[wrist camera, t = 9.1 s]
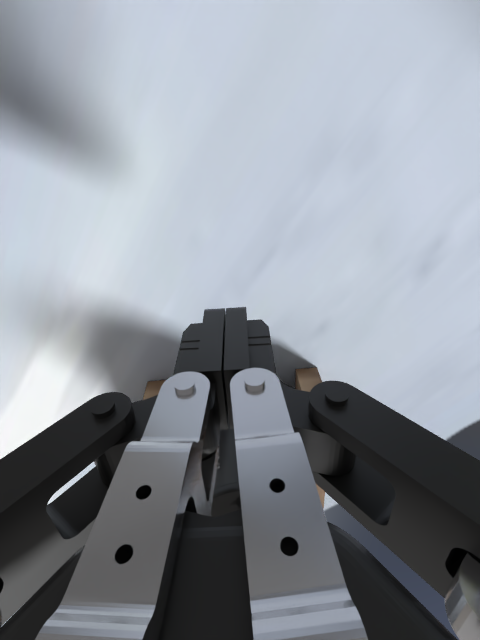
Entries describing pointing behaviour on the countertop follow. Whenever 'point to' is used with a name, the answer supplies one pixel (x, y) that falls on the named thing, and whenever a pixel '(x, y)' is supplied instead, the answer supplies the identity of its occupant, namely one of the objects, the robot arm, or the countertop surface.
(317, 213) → the countertop surface
